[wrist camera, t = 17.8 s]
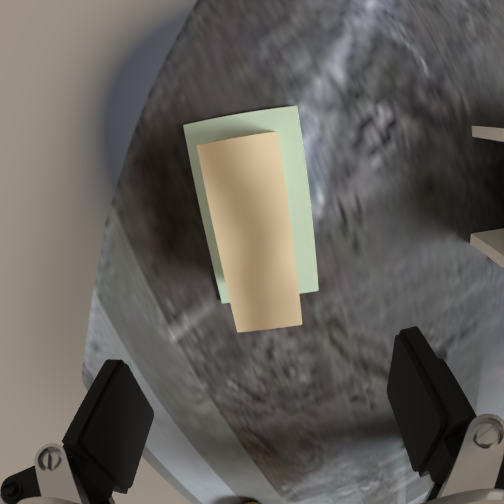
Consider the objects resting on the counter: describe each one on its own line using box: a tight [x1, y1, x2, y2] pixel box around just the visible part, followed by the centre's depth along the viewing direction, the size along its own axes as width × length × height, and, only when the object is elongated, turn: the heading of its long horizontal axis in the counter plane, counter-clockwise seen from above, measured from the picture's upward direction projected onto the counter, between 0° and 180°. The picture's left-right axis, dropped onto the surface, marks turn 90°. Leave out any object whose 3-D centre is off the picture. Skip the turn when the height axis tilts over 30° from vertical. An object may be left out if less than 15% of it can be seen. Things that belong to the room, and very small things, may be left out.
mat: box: [183, 106, 318, 303], centre depth 28 cm, size 18×10×1 cm, turn 9°
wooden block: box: [197, 131, 302, 332], centre depth 24 cm, size 5×14×8 cm, turn 9°
